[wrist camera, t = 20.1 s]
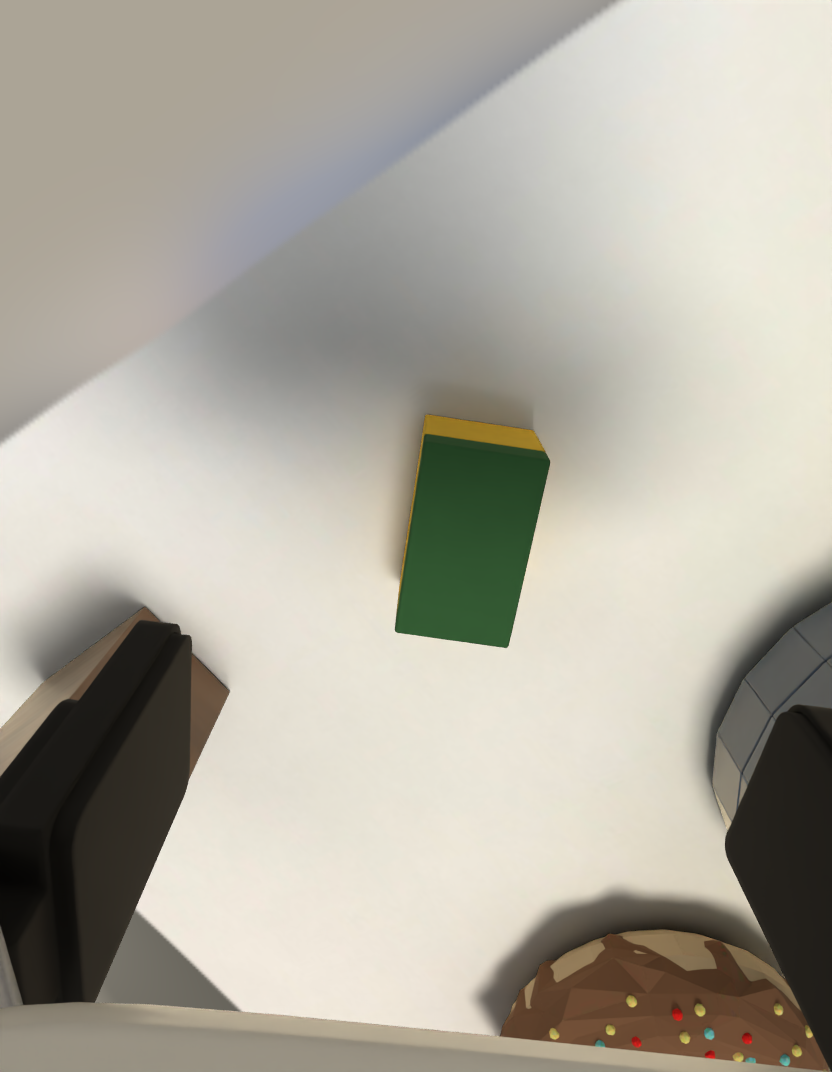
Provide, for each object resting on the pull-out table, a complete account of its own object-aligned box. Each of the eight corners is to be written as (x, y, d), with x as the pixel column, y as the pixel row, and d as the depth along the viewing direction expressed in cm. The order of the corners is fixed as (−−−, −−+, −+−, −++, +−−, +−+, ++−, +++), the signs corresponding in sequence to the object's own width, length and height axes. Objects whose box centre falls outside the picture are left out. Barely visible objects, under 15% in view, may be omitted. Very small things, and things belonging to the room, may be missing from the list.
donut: (831, 910, 29) (905, 1033, 25) (749, 1106, 35) (798, 1238, 30) (498, 886, 29) (510, 1004, 25) (465, 1086, 35) (470, 1215, 30)
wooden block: (145, 605, 25) (-3, 784, 16) (230, 691, 26) (134, 898, 18) (42, 682, 26) (-143, 883, 18) (128, 760, 27) (-6, 982, 19)
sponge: (425, 413, 22) (423, 441, 19) (534, 430, 22) (551, 460, 19) (399, 582, 24) (394, 633, 21) (498, 596, 24) (508, 649, 21)
